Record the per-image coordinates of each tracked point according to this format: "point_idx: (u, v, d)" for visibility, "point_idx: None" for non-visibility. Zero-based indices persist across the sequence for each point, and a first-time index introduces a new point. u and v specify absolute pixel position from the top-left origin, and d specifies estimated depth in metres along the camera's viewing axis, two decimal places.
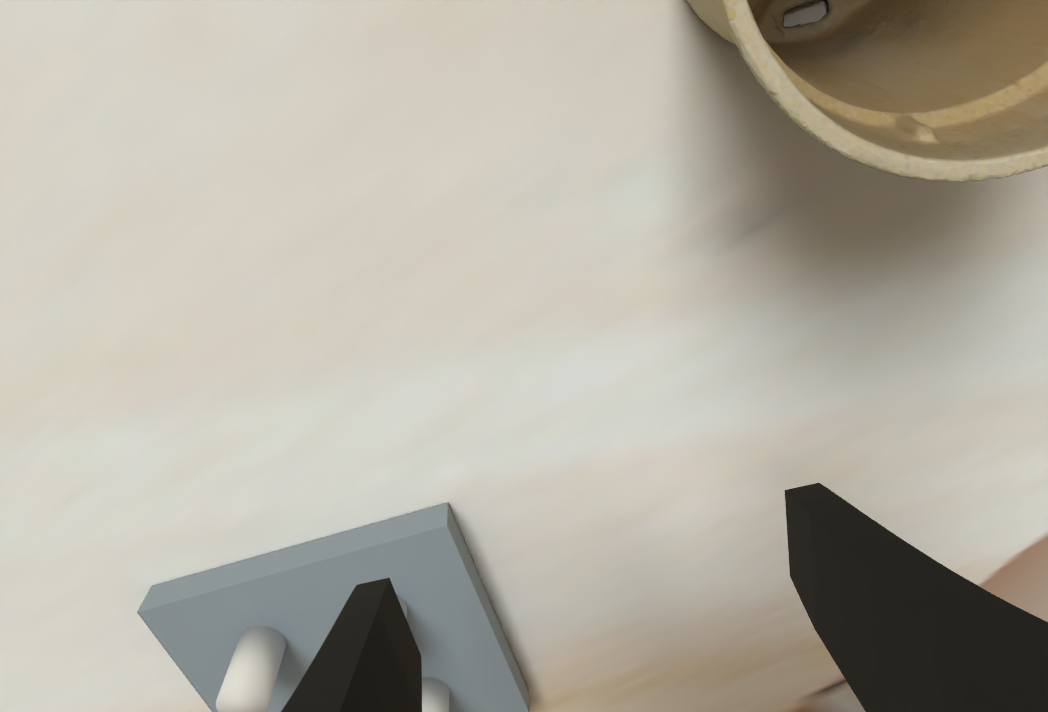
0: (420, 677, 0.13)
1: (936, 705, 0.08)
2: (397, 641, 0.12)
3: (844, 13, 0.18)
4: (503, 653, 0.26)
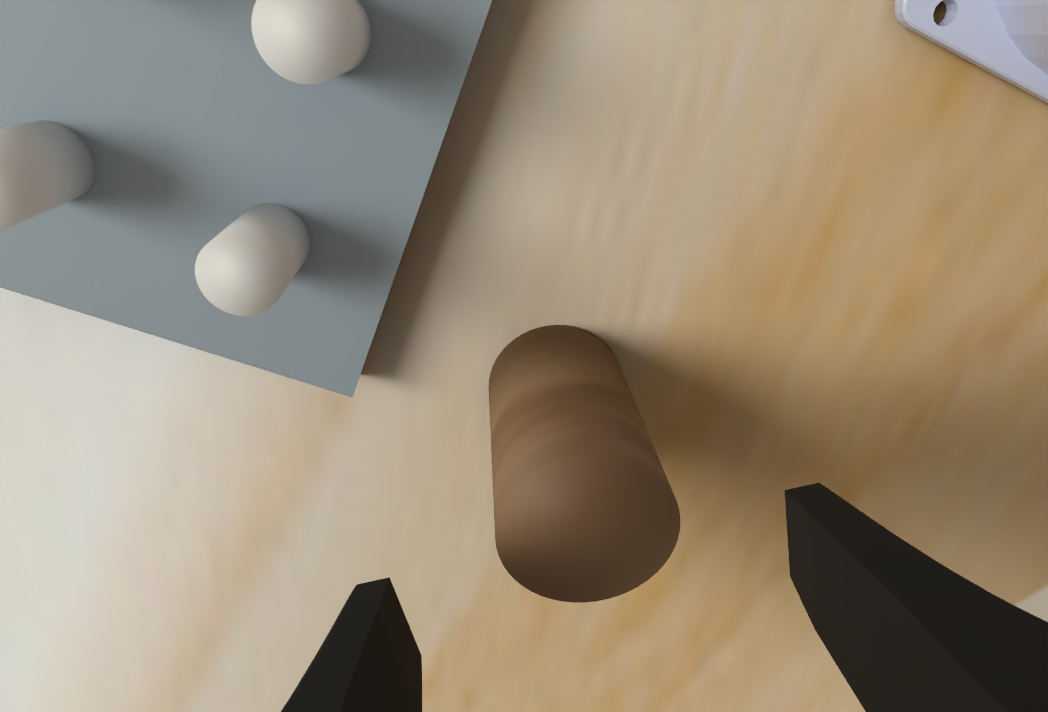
0: (420, 677, 0.13)
1: (936, 705, 0.08)
2: (397, 641, 0.12)
3: None
4: None
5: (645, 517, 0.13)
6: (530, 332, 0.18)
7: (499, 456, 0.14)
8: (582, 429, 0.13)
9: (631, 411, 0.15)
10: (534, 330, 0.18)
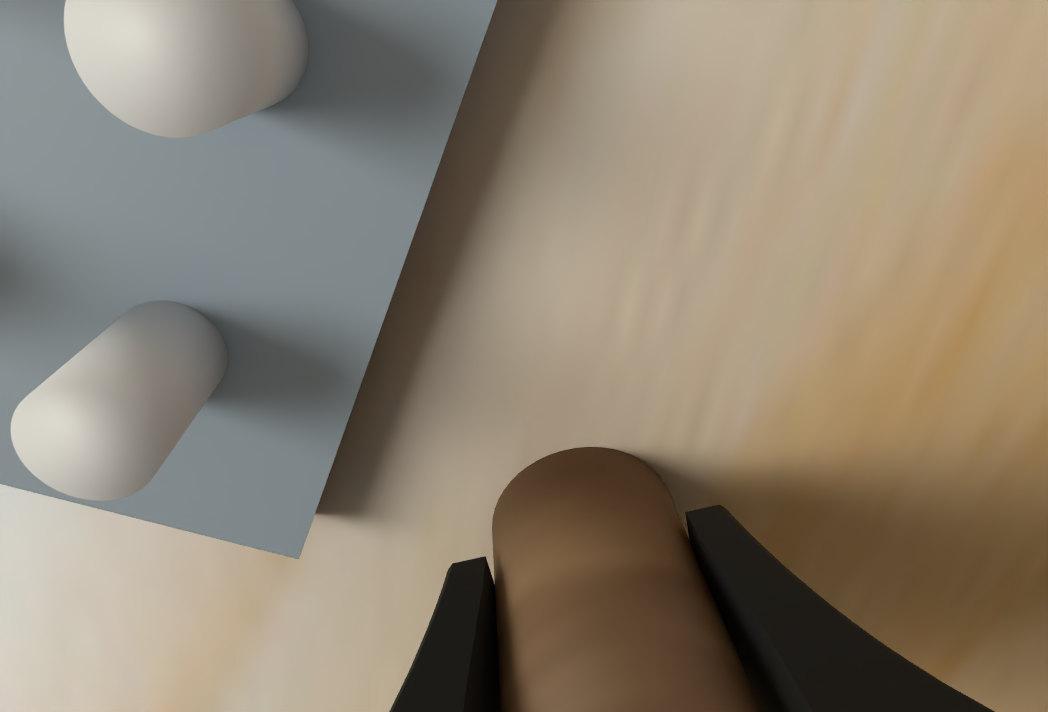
0: None
1: None
2: None
3: None
4: None
5: None
6: (550, 457, 0.13)
7: (511, 694, 0.09)
8: (647, 684, 0.08)
9: (709, 613, 0.10)
10: (556, 455, 0.13)
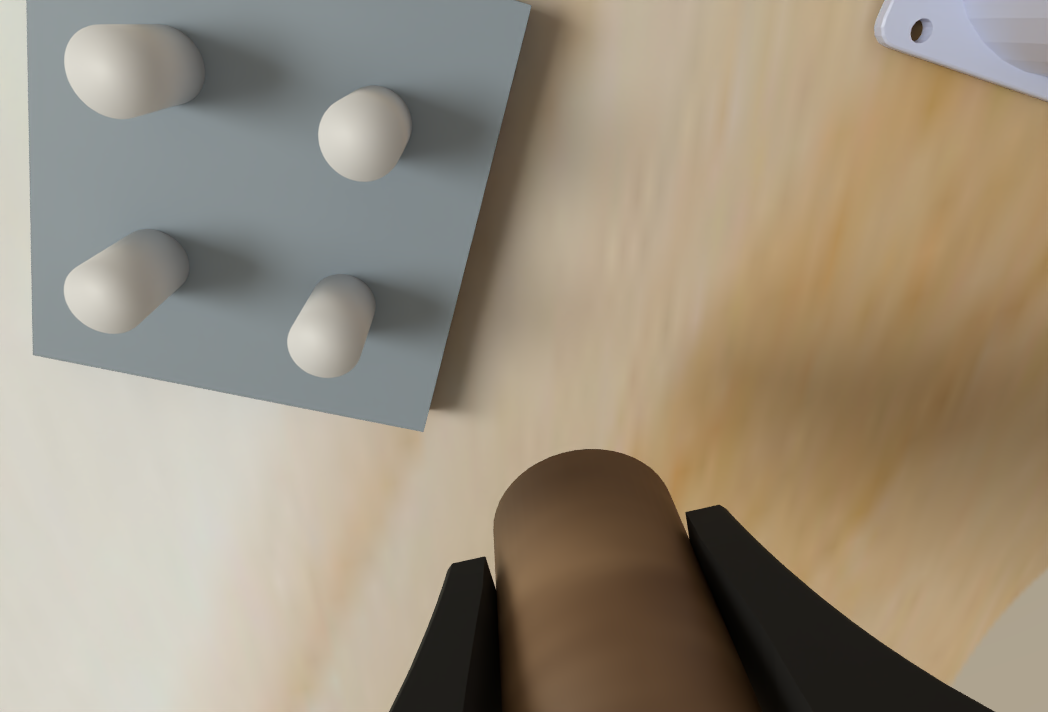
0: None
1: None
2: (496, 619, 0.12)
3: None
4: None
5: None
6: (550, 459, 0.13)
7: (512, 697, 0.09)
8: (646, 685, 0.08)
9: (710, 615, 0.10)
10: (556, 457, 0.13)
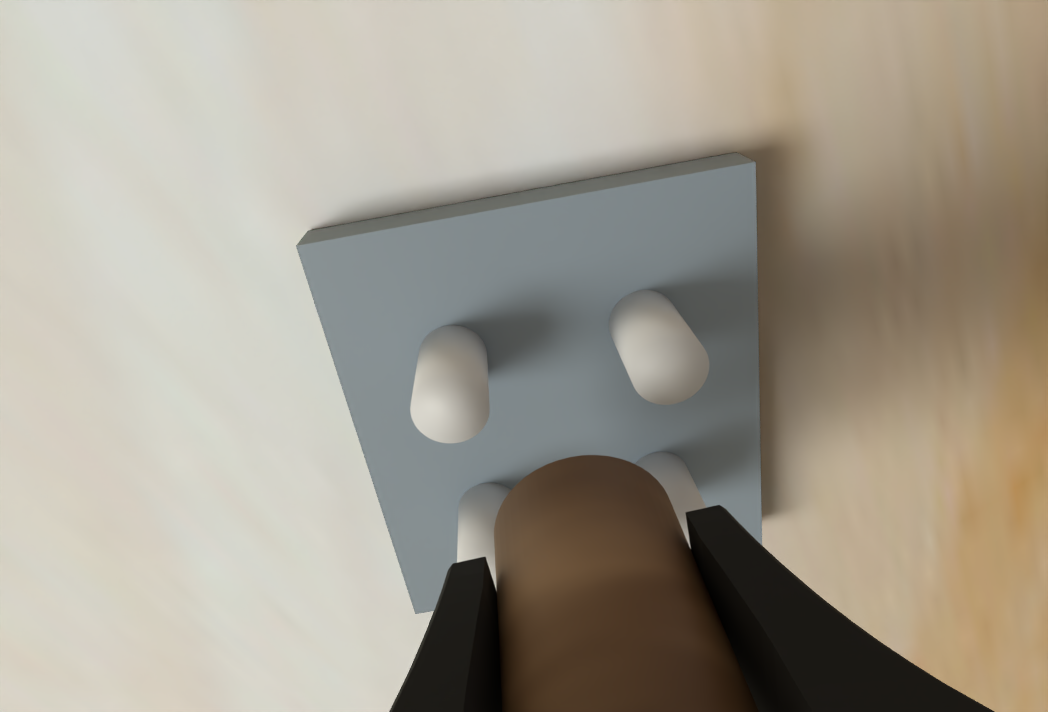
0: None
1: None
2: (496, 619, 0.12)
3: None
4: (588, 191, 0.15)
5: None
6: (546, 466, 0.13)
7: (510, 708, 0.10)
8: (639, 694, 0.08)
9: (705, 619, 0.10)
10: (552, 465, 0.13)
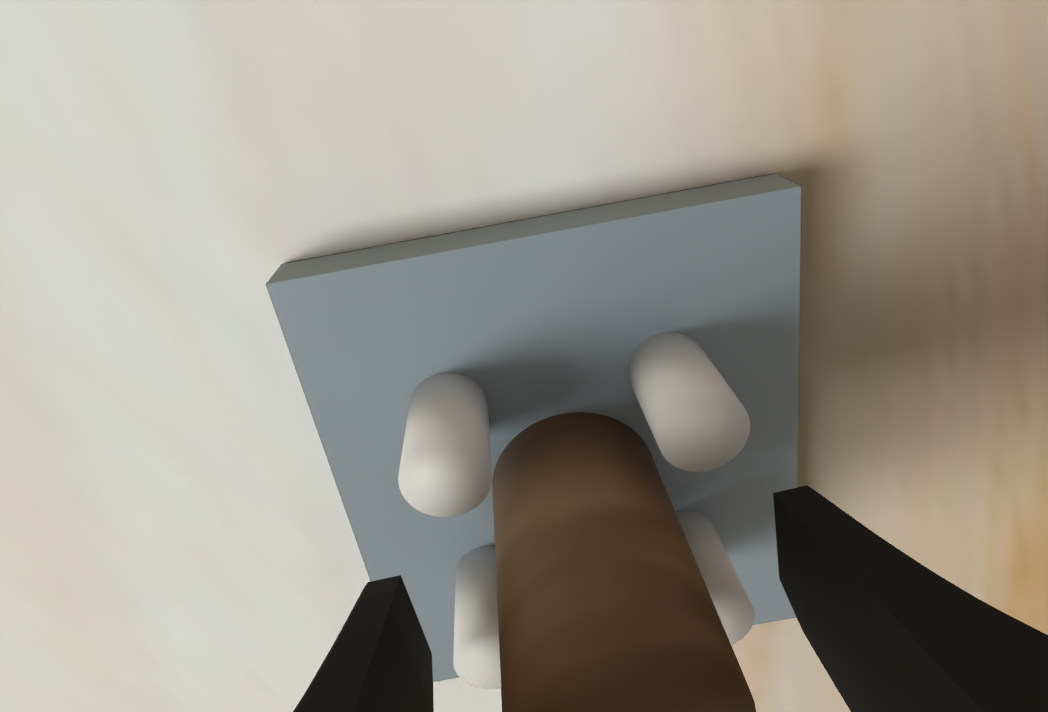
0: (431, 674, 0.13)
1: (920, 708, 0.08)
2: (409, 638, 0.12)
3: None
4: (606, 221, 0.13)
5: None
6: (539, 422, 0.14)
7: (505, 619, 0.11)
8: (615, 596, 0.10)
9: (676, 544, 0.11)
10: (544, 421, 0.14)
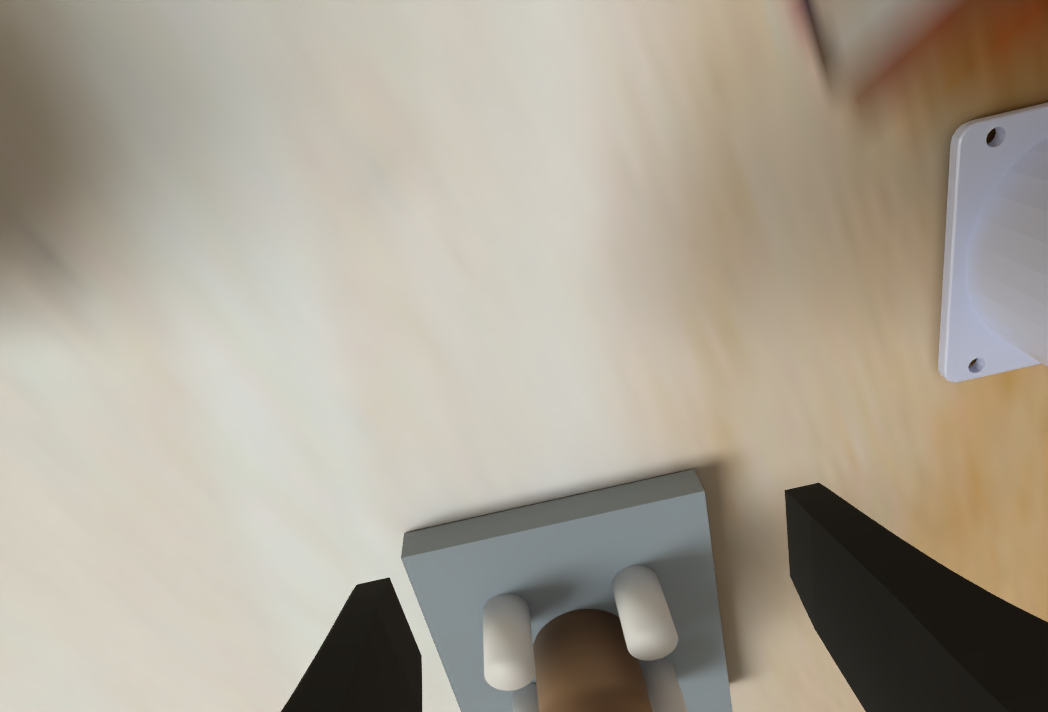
0: (420, 677, 0.13)
1: (936, 705, 0.08)
2: (397, 641, 0.12)
3: None
4: (593, 513, 0.22)
5: None
6: (560, 616, 0.24)
7: None
8: None
9: (638, 709, 0.21)
10: (563, 615, 0.24)
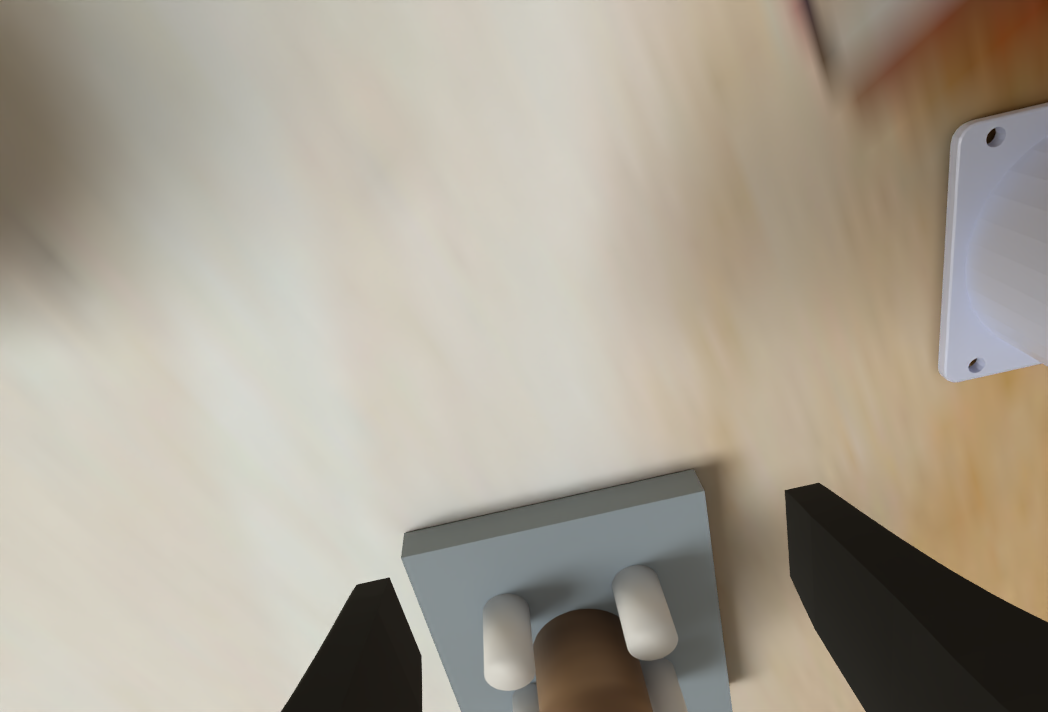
0: (420, 677, 0.13)
1: (936, 705, 0.08)
2: (397, 641, 0.12)
3: None
4: (593, 513, 0.22)
5: None
6: (560, 615, 0.24)
7: None
8: None
9: (639, 707, 0.21)
10: (563, 615, 0.24)
